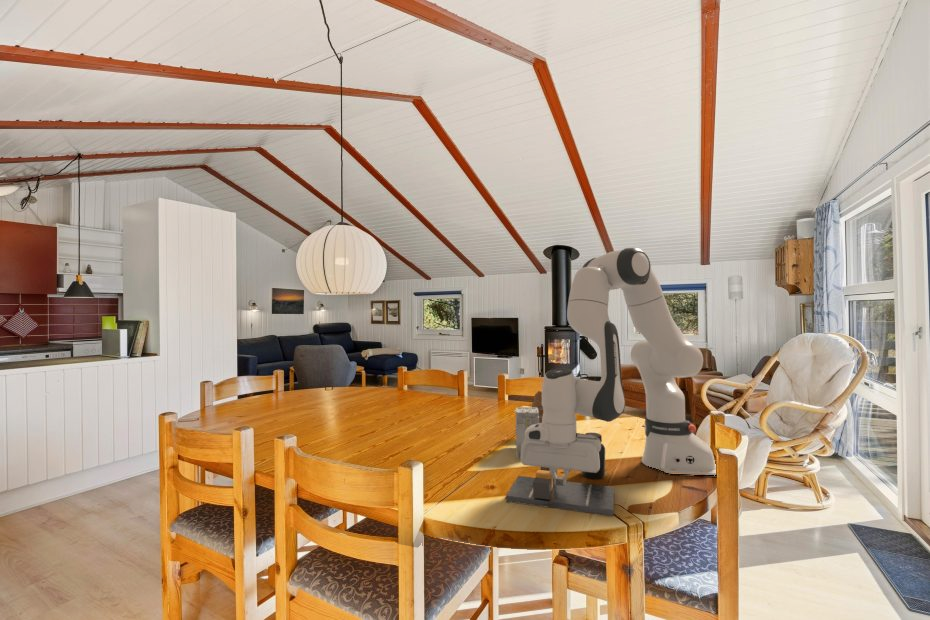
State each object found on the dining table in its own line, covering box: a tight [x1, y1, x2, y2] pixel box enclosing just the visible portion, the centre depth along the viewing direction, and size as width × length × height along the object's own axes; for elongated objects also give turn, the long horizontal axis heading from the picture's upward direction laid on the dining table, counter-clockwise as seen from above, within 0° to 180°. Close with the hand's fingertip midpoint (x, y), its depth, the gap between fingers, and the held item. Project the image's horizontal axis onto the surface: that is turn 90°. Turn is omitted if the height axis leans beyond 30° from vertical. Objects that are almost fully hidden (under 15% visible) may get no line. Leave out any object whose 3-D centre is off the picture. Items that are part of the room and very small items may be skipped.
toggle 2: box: [533, 476, 551, 500], centre depth 111 cm, size 4×3×4 cm
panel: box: [505, 475, 615, 517], centre depth 114 cm, size 26×14×2 cm, turn 70°
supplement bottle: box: [580, 432, 606, 480], centre depth 129 cm, size 7×7×12 cm
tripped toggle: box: [535, 469, 553, 491], centre depth 116 cm, size 4×3×4 cm
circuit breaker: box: [515, 406, 539, 459], centre depth 152 cm, size 8×14×15 cm, turn 174°
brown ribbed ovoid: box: [531, 390, 543, 423], centre depth 169 cm, size 9×8×18 cm
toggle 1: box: [540, 467, 558, 483], centre depth 121 cm, size 4×3×4 cm
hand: (559, 484), depth 114 cm, fingers closed
